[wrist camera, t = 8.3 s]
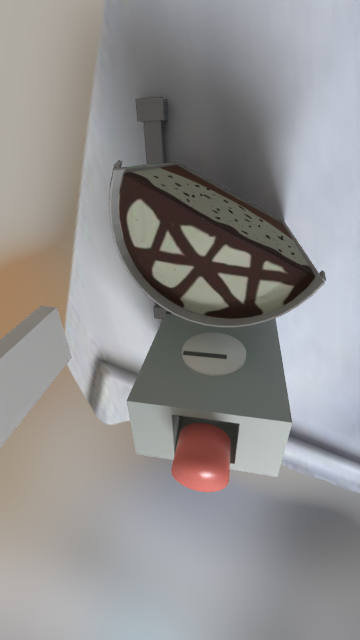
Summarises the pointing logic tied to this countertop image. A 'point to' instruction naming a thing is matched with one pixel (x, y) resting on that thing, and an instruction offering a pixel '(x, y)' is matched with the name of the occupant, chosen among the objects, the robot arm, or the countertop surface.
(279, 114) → the countertop surface
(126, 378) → the countertop surface
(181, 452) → the button
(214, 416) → the cabinet
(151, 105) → the guide rail
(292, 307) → the food container
